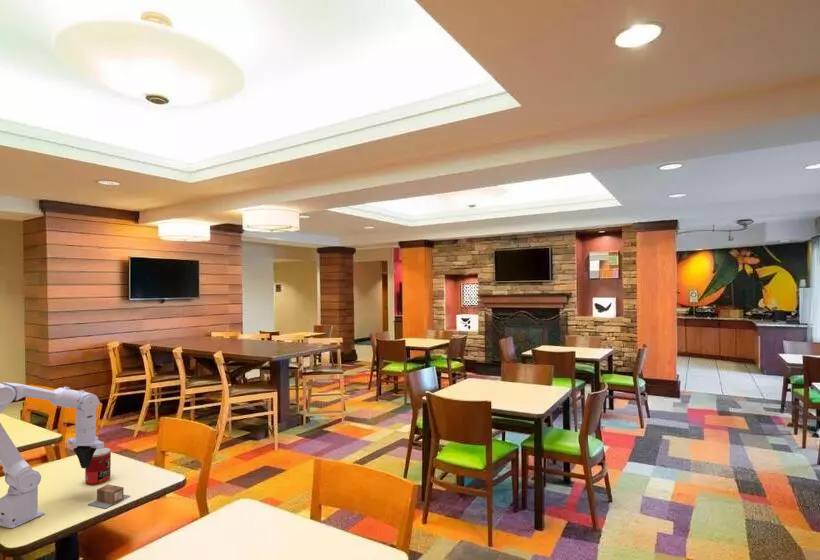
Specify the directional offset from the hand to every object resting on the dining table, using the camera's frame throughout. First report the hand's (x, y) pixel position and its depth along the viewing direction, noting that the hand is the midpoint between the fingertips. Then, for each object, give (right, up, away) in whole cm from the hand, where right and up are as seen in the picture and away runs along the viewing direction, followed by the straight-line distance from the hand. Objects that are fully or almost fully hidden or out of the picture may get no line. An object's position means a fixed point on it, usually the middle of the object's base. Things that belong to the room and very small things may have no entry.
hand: (85, 467), depth 159 cm
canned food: (-4, -10, +12) cm, 16 cm away
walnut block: (+8, -8, -2) cm, 11 cm away
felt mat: (+10, -10, -3) cm, 15 cm away
